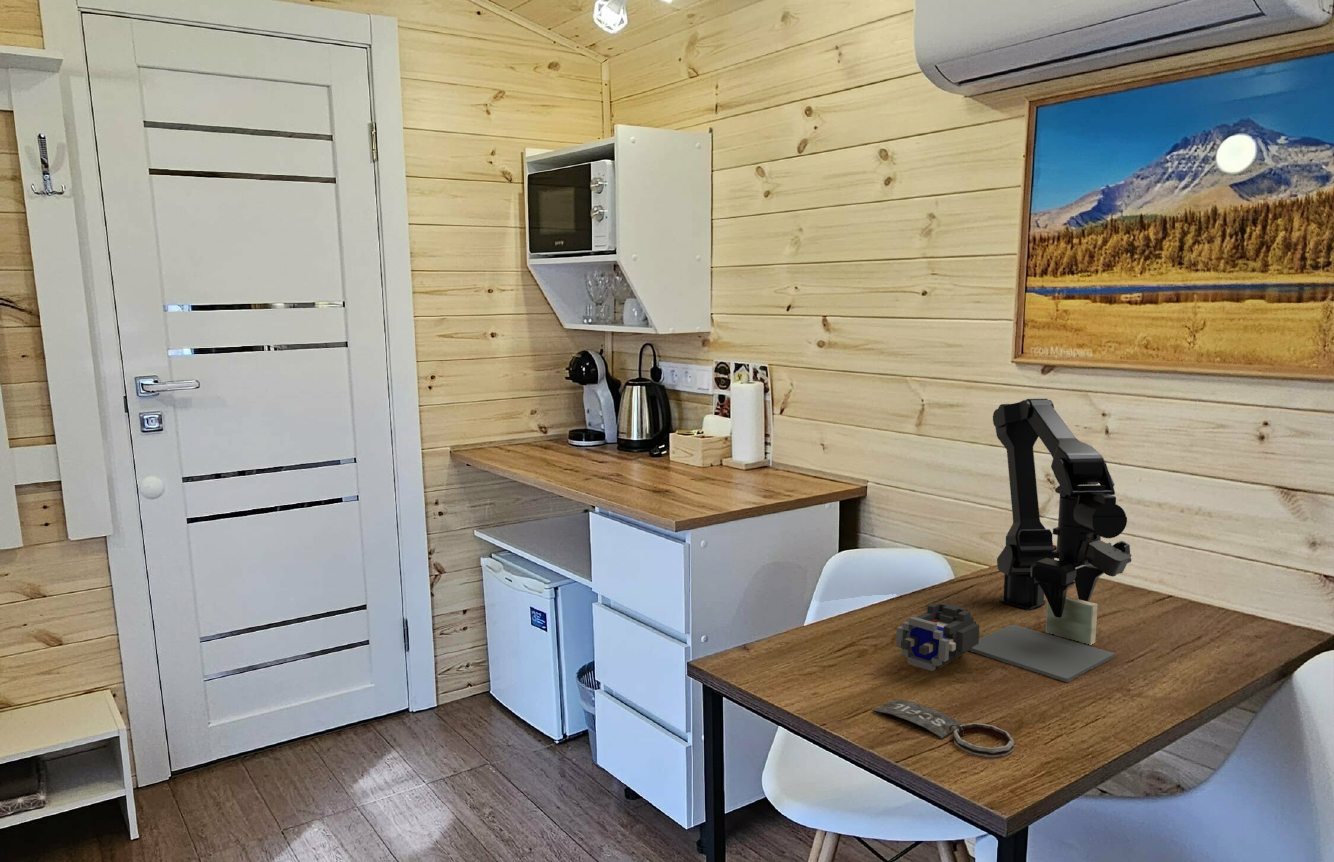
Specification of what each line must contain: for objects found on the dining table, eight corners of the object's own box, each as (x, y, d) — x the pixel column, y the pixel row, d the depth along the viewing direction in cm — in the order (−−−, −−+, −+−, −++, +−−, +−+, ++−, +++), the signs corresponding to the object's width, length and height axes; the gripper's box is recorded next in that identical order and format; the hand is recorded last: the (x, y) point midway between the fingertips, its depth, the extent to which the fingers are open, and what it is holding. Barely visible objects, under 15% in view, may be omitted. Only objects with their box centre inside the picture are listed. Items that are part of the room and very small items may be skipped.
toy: (889, 617, 140) (938, 596, 150) (888, 669, 141) (936, 645, 151) (939, 631, 133) (986, 608, 144) (937, 685, 135) (984, 659, 145)
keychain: (900, 701, 130) (900, 688, 130) (1025, 747, 116) (1026, 733, 116) (868, 717, 125) (869, 703, 125) (995, 767, 111) (996, 752, 111)
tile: (1045, 632, 157) (1047, 594, 156) (1050, 630, 158) (1052, 592, 157) (1090, 645, 150) (1092, 606, 150) (1095, 643, 152) (1097, 604, 151)
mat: (962, 648, 149) (962, 645, 149) (1012, 627, 159) (1013, 624, 159) (1067, 682, 135) (1067, 678, 135) (1114, 656, 145) (1115, 653, 145)
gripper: (1098, 541, 140) (1092, 636, 142) (1149, 523, 151) (1143, 611, 153) (1031, 528, 148) (1026, 618, 150) (1084, 512, 160) (1079, 596, 162)
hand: (1071, 611), depth 154 cm, fingers open, 9 cm apart
